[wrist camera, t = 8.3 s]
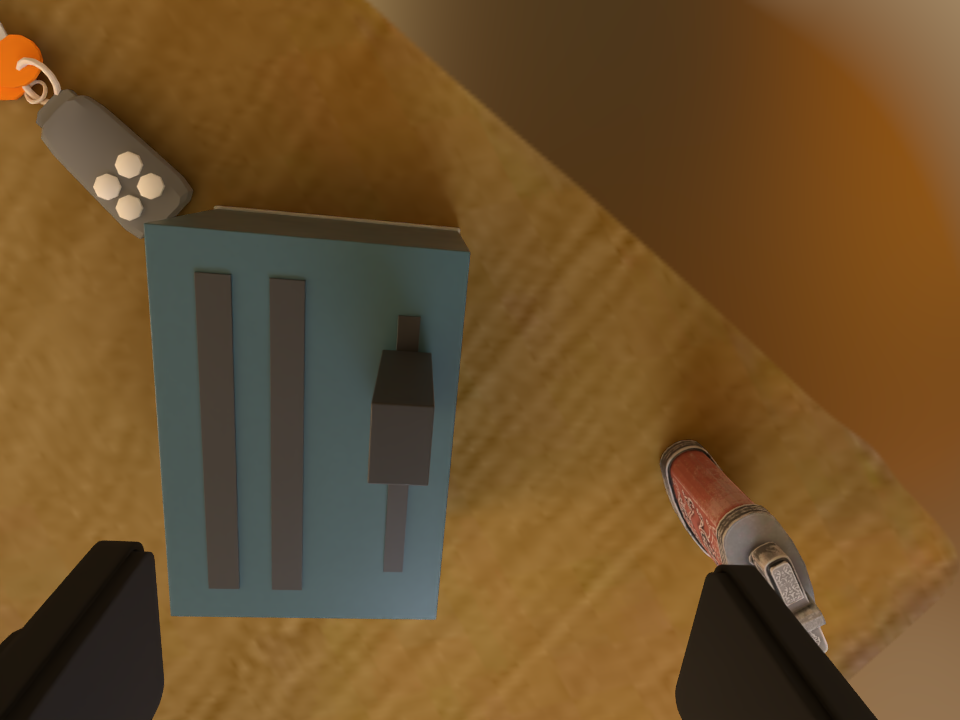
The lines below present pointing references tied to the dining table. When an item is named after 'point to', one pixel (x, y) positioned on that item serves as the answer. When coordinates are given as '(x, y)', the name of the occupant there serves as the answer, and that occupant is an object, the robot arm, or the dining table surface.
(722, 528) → the lighter
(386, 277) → the toaster
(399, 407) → the slider
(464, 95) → the dining table surface
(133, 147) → the key chain
